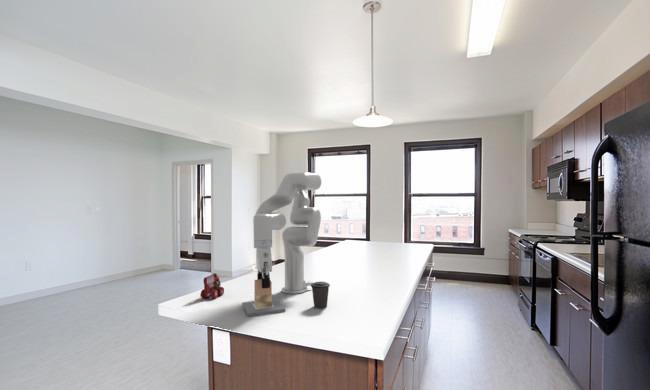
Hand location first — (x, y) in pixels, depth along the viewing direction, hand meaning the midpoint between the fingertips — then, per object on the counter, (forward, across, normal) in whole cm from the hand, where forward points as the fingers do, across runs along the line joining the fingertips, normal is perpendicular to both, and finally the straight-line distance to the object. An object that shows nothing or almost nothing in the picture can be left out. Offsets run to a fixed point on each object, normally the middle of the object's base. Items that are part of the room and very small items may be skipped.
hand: (263, 285), depth 131 cm
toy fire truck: (+10, +26, +19) cm, 34 cm away
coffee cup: (+10, -8, -22) cm, 25 cm away
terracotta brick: (+3, 0, 0) cm, 3 cm away
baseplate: (+9, 0, 0) cm, 9 cm away
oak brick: (+8, 0, 0) cm, 8 cm away
